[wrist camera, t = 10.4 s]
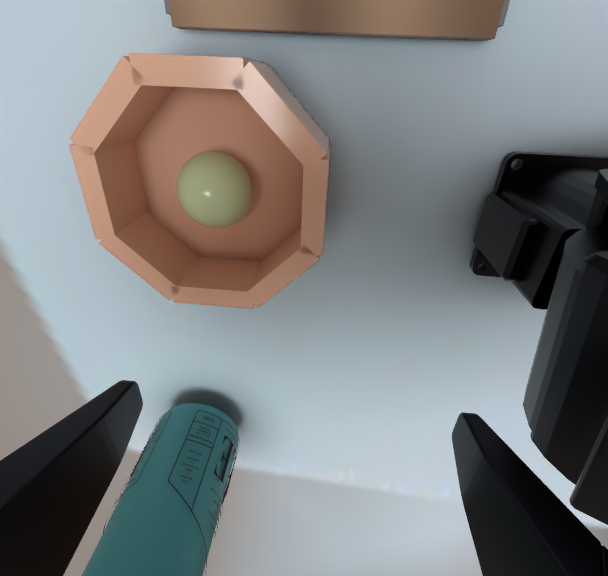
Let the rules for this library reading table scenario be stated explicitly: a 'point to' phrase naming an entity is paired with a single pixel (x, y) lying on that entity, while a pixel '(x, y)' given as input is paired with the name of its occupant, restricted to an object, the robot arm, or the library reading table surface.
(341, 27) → the lid
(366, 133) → the library reading table surface
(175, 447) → the beverage bottle
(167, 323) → the library reading table surface
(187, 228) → the bowl
